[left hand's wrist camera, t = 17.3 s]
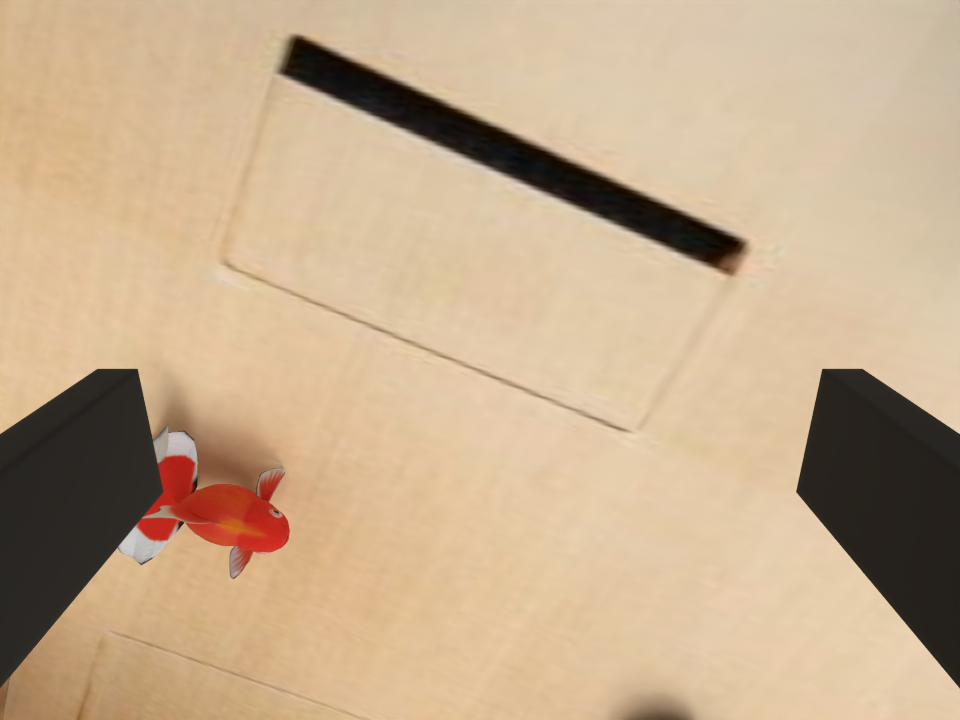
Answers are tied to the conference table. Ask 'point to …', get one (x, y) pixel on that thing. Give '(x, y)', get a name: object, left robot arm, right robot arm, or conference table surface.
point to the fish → (207, 509)
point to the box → (3, 697)
